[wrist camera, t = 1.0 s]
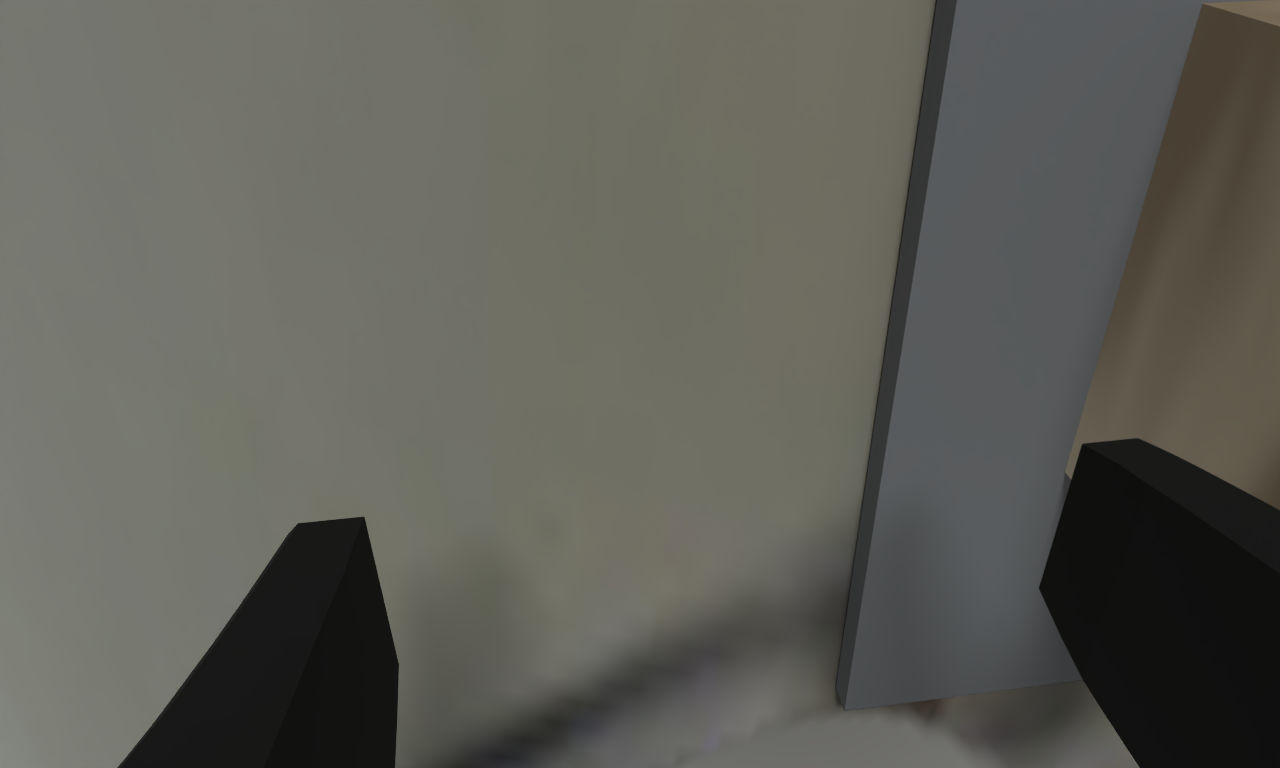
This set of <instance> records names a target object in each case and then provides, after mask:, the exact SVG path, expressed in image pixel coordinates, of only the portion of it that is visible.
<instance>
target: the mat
mask: <svg viewBox="0 0 1280 768" xmlns="http://www.w3.org/2000/svg"><path fill="white" fill-rule="evenodd" d="M1243 1H1264V0H937V4H936V10H935V17H934V24H933V31H932V37H931V44H930V51H929V58H928V65H927V71H926V78H925V85H924V92H923V99H922V105H921V112H920V119H919V126H918V132H917V139H916V146H915V153H914V160H913V166H912V173H911V180H910V187H909V194H908V200H907V207H906V214H905V221H904V228H903V234H902V241H901V248H900V255H899V261H898V268H897V275H896V282H895V289H894V295H893V302H892V309H891V316H890V323H889V329H888V336H887V343H886V350H885V356H884V363H883V370H882V377H881V384H880V390H879V397H878V404H877V411H876V418H875V424H874V431H873V438H872V445H871V451H870V458H869V465H868V472H867V479H866V485H865V492H864V499H863V506H862V513H861V519H860V526H859V533H858V540H857V547H856V553H855V560H854V567H853V574H852V580H851V587H850V594H849V601H848V608H847V614H846V621H845V628H844V635H843V642H842V648H841V655H840V662H839V669H838V675H837V682H836V691H837V693H838V696H839V698H840V701H841V703H842V706H843V709H844V711H849V710H857V709H865V708H872V707H880V706H888V705H895V704H903V703H911V702H918V701H926V700H933V699H941V698H949V697H956V696H964V695H972V694H979V693H987V692H995V691H1002V690H1010V689H1017V688H1025V687H1033V686H1040V685H1048V684H1056V683H1063V682H1071V681H1079V680H1083V679H1082V677H1081V676H1080V674H1079V672H1078V670H1077V668H1076V666H1075V664H1074V662H1073V660H1072V658H1071V656H1070V654H1069V652H1068V650H1067V648H1066V646H1065V644H1064V642H1063V640H1062V638H1061V636H1060V634H1059V632H1058V629H1057V627H1056V625H1055V623H1054V621H1053V618H1052V616H1051V614H1050V612H1049V610H1048V608H1047V605H1046V603H1045V601H1044V599H1043V597H1042V594H1041V592H1040V590H1039V586H1040V582H1041V579H1042V576H1043V572H1044V569H1045V566H1046V562H1047V559H1048V556H1049V552H1050V549H1051V546H1052V542H1053V539H1054V536H1055V532H1056V529H1057V526H1058V522H1059V519H1060V516H1061V512H1062V509H1063V506H1064V502H1065V499H1066V496H1067V492H1068V489H1069V486H1070V482H1071V479H1070V478H1069V476H1068V475H1067V474H1066V473H1065V470H1066V467H1067V463H1068V460H1069V456H1070V453H1071V450H1072V446H1073V443H1074V439H1075V436H1076V433H1077V429H1078V426H1079V422H1080V419H1081V416H1082V412H1083V409H1084V405H1085V402H1086V398H1087V395H1088V392H1089V388H1090V385H1091V381H1092V378H1093V375H1094V371H1095V368H1096V364H1097V361H1098V358H1099V354H1100V351H1101V347H1102V344H1103V341H1104V337H1105V334H1106V330H1107V327H1108V324H1109V320H1110V317H1111V313H1112V310H1113V307H1114V303H1115V300H1116V296H1117V293H1118V290H1119V286H1120V283H1121V279H1122V276H1123V272H1124V269H1125V266H1126V262H1127V259H1128V255H1129V252H1130V249H1131V245H1132V242H1133V238H1134V235H1135V232H1136V228H1137V225H1138V221H1139V218H1140V215H1141V211H1142V208H1143V204H1144V201H1145V198H1146V194H1147V191H1148V187H1149V184H1150V181H1151V177H1152V174H1153V170H1154V167H1155V164H1156V160H1157V157H1158V153H1159V150H1160V146H1161V143H1162V140H1163V136H1164V133H1165V129H1166V126H1167V123H1168V119H1169V116H1170V112H1171V109H1172V106H1173V102H1174V99H1175V95H1176V92H1177V89H1178V85H1179V82H1180V78H1181V75H1182V72H1183V68H1184V65H1185V61H1186V58H1187V55H1188V51H1189V48H1190V44H1191V41H1192V38H1193V34H1194V31H1195V27H1196V24H1197V21H1198V17H1199V14H1200V10H1201V7H1202V3H1222V2H1243Z"/></svg>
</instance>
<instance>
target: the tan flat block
mask: <svg viewBox="0 0 1280 768" xmlns="http://www.w3.org/2000/svg"><path fill="white" fill-rule="evenodd" d="M1133 438H1139V439H1141V440H1144V441H1146V442H1148V443H1150V444H1152V445H1155V446H1157V447H1159V448H1161V449H1163V450H1165V451H1167V452H1170V453H1172V454H1174V455H1176V456H1178V457H1180V458H1182V459H1184V460H1186V461H1188V462H1190V463H1192V464H1194V465H1196V466H1198V467H1199V468H1201V469H1203V470H1205V471H1207V472H1209V473H1211V474H1213V475H1215V476H1217V477H1219V478H1221V479H1222V480H1224V481H1226V482H1228V483H1230V484H1232V485H1234V486H1236V487H1238V488H1239V489H1241V490H1243V491H1245V492H1247V493H1249V494H1251V495H1253V496H1254V497H1256V498H1258V499H1260V500H1262V501H1264V502H1266V503H1267V504H1269V505H1271V506H1273V507H1275V508H1277V509H1279V510H1280V0H1264V1H1243V2H1222V3H1202V7H1201V10H1200V14H1199V17H1198V21H1197V24H1196V27H1195V31H1194V34H1193V38H1192V41H1191V44H1190V48H1189V51H1188V55H1187V58H1186V61H1185V65H1184V68H1183V72H1182V75H1181V78H1180V82H1179V85H1178V89H1177V92H1176V95H1175V99H1174V102H1173V106H1172V109H1171V112H1170V116H1169V119H1168V123H1167V126H1166V129H1165V133H1164V136H1163V140H1162V143H1161V146H1160V150H1159V153H1158V157H1157V160H1156V164H1155V167H1154V170H1153V174H1152V177H1151V181H1150V184H1149V187H1148V191H1147V194H1146V198H1145V201H1144V204H1143V208H1142V211H1141V215H1140V218H1139V221H1138V225H1137V228H1136V232H1135V235H1134V238H1133V242H1132V245H1131V249H1130V252H1129V255H1128V259H1127V262H1126V266H1125V269H1124V272H1123V276H1122V279H1121V283H1120V286H1119V290H1118V293H1117V296H1116V300H1115V303H1114V307H1113V310H1112V313H1111V317H1110V320H1109V324H1108V327H1107V330H1106V334H1105V337H1104V341H1103V344H1102V347H1101V351H1100V354H1099V358H1098V361H1097V364H1096V368H1095V371H1094V375H1093V378H1092V381H1091V385H1090V388H1089V392H1088V395H1087V398H1086V402H1085V405H1084V409H1083V412H1082V416H1081V419H1080V422H1079V426H1078V429H1077V433H1076V436H1075V439H1074V443H1073V446H1072V450H1071V453H1070V456H1069V460H1068V463H1067V467H1066V470H1065V473H1066V474H1067V475H1068V476H1069V478H1070V479H1072V476H1073V472H1074V469H1075V466H1076V462H1077V459H1078V456H1079V452H1080V449H1081V446H1082V444H1084V443H1093V442H1103V441H1113V440H1123V439H1133Z"/></svg>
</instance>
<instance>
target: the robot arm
mask: <svg viewBox="0 0 1280 768" xmlns="http://www.w3.org/2000/svg"><path fill="white" fill-rule="evenodd" d="M1039 590H1040V592H1041V594H1042V597H1043V599H1044V601H1045V603H1046V605H1047V608H1048V610H1049V612H1050V614H1051V616H1052V618H1053V621H1054V623H1055V625H1056V627H1057V629H1058V632H1059V634H1060V636H1061V638H1062V640H1063V642H1064V644H1065V646H1066V648H1067V650H1068V652H1069V654H1070V656H1071V658H1072V660H1073V662H1074V664H1075V666H1076V668H1077V670H1078V672H1079V674H1080V676H1081V677H1082V679H1083V680H1084V682H1085V684H1086V685H1087V687H1088V688H1089V690H1090V692H1091V693H1092V695H1093V696H1094V698H1095V700H1096V701H1097V703H1098V704H1099V706H1100V707H1101V709H1102V710H1103V712H1104V714H1105V715H1106V717H1107V718H1108V720H1109V721H1110V723H1111V724H1112V726H1113V727H1114V729H1115V730H1116V732H1117V734H1118V735H1119V737H1120V738H1121V740H1122V741H1123V743H1124V744H1125V746H1126V747H1127V749H1128V751H1129V752H1130V754H1131V755H1132V757H1133V758H1134V760H1135V761H1136V763H1137V764H1138V766H1139V767H1140V768H1280V510H1279V509H1277V508H1275V507H1273V506H1271V505H1269V504H1267V503H1266V502H1264V501H1262V500H1260V499H1258V498H1256V497H1254V496H1253V495H1251V494H1249V493H1247V492H1245V491H1243V490H1241V489H1239V488H1238V487H1236V486H1234V485H1232V484H1230V483H1228V482H1226V481H1224V480H1222V479H1221V478H1219V477H1217V476H1215V475H1213V474H1211V473H1209V472H1207V471H1205V470H1203V469H1201V468H1199V467H1198V466H1196V465H1194V464H1192V463H1190V462H1188V461H1186V460H1184V459H1182V458H1180V457H1178V456H1176V455H1174V454H1172V453H1170V452H1167V451H1165V450H1163V449H1161V448H1159V447H1157V446H1155V445H1152V444H1150V443H1148V442H1146V441H1144V440H1141V439H1139V438H1133V439H1123V440H1113V441H1103V442H1093V443H1084V444H1082V446H1081V449H1080V452H1079V456H1078V459H1077V462H1076V466H1075V469H1074V472H1073V476H1072V479H1071V482H1070V486H1069V489H1068V492H1067V496H1066V499H1065V502H1064V506H1063V509H1062V512H1061V516H1060V519H1059V522H1058V526H1057V529H1056V532H1055V536H1054V539H1053V542H1052V546H1051V549H1050V552H1049V556H1048V559H1047V562H1046V566H1045V569H1044V572H1043V576H1042V579H1041V582H1040V586H1039ZM398 673H399V663H398V659H397V655H396V651H395V646H394V642H393V638H392V633H391V629H390V625H389V621H388V616H387V612H386V608H385V603H384V599H383V595H382V591H381V586H380V582H379V578H378V573H377V569H376V565H375V560H374V556H373V552H372V548H371V543H370V539H369V535H368V530H367V526H366V522H365V518H364V517H357V518H347V519H337V520H327V521H317V522H308V523H298V524H297V525H296V526H295V527H294V528H293V530H292V531H291V532H290V533H289V534H288V535H287V537H286V538H285V540H284V541H283V543H282V544H281V546H280V547H279V548H278V550H277V551H276V553H275V554H274V556H273V557H272V559H271V560H270V562H269V563H268V565H267V566H266V568H265V569H264V571H263V572H262V574H261V575H260V577H259V578H258V580H257V581H256V583H255V584H254V585H253V587H252V588H251V590H250V591H249V593H248V594H247V596H246V597H245V599H244V600H243V601H242V603H241V604H240V606H239V607H238V609H237V610H236V611H235V613H234V614H233V616H232V617H231V619H230V620H229V621H228V623H227V624H226V626H225V627H224V629H223V630H222V631H221V633H220V634H219V636H218V637H217V638H216V640H215V641H214V643H213V644H212V645H211V647H210V648H209V649H208V651H207V652H206V654H205V655H204V656H203V658H202V659H201V660H200V662H199V663H198V664H197V666H196V667H195V668H194V670H193V671H192V672H191V674H190V675H189V676H188V678H187V679H186V680H185V682H184V683H183V685H182V686H181V687H180V689H179V690H178V691H177V693H176V694H175V695H174V697H173V698H172V699H171V701H170V702H169V703H168V705H167V706H166V707H165V709H164V710H163V711H162V713H161V714H160V715H159V717H158V718H157V719H156V721H155V722H154V723H153V724H152V726H151V727H150V728H149V730H148V731H147V732H146V733H145V735H144V736H143V737H142V738H141V740H140V741H139V742H138V743H137V745H136V746H135V747H134V748H133V749H132V751H131V752H130V753H129V754H128V756H127V757H126V758H125V759H124V761H123V762H122V763H121V764H120V765H119V767H118V768H395V754H396V732H397V705H398Z"/></svg>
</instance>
